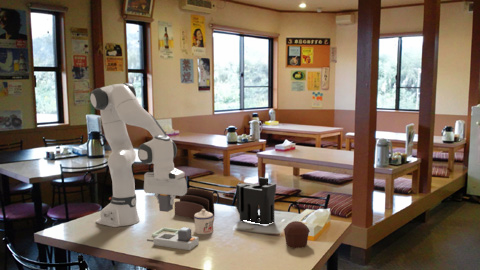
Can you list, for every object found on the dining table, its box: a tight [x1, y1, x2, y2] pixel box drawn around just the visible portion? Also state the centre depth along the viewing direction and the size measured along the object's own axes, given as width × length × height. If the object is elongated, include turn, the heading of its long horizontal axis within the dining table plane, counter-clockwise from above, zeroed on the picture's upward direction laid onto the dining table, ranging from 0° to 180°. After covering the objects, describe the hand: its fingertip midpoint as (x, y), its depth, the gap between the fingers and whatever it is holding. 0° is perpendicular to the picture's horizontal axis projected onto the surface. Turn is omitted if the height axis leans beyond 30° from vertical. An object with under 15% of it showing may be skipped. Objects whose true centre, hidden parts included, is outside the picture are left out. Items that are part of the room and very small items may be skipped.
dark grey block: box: [178, 226, 192, 242], centre depth 189 cm, size 4×4×8 cm
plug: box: [158, 194, 174, 213], centre depth 191 cm, size 4×4×8 cm
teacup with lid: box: [194, 209, 215, 235], centre depth 209 cm, size 12×9×12 cm
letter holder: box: [174, 187, 215, 220], centre depth 235 cm, size 10×20×14 cm, turn 58°
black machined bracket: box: [235, 176, 277, 224], centre depth 223 cm, size 12×21×22 cm, turn 54°
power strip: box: [146, 231, 200, 251], centre depth 192 cm, size 24×8×5 cm, turn 68°
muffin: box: [283, 220, 311, 249], centre depth 191 cm, size 12×11×10 cm
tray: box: [151, 227, 180, 238], centre depth 205 cm, size 10×10×2 cm
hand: (165, 203), depth 191 cm, fingers closed on plug, 4 cm apart
